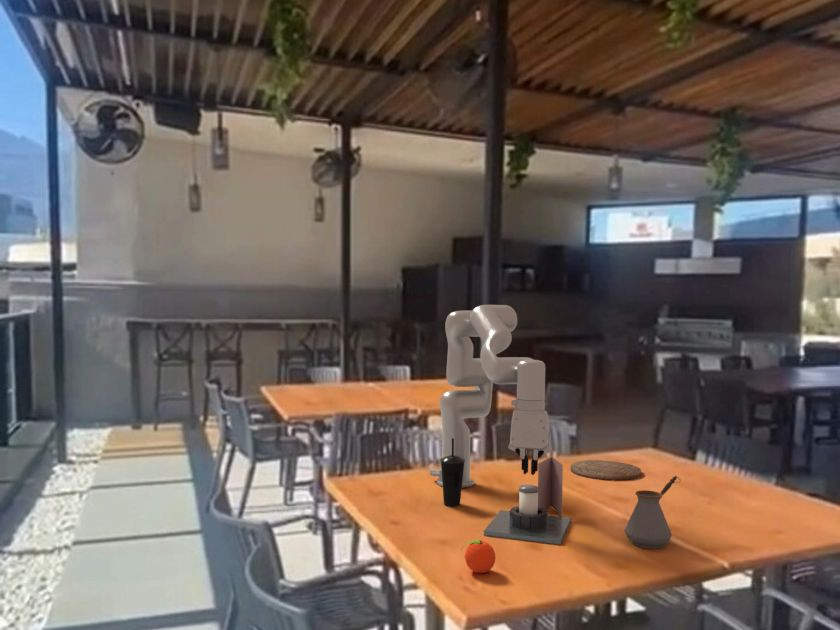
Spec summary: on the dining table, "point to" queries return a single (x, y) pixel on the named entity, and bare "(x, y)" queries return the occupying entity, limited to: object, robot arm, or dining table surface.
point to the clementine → (480, 556)
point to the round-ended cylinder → (528, 499)
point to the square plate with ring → (529, 526)
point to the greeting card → (550, 484)
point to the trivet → (605, 470)
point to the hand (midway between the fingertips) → (529, 473)
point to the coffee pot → (649, 520)
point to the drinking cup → (452, 478)
